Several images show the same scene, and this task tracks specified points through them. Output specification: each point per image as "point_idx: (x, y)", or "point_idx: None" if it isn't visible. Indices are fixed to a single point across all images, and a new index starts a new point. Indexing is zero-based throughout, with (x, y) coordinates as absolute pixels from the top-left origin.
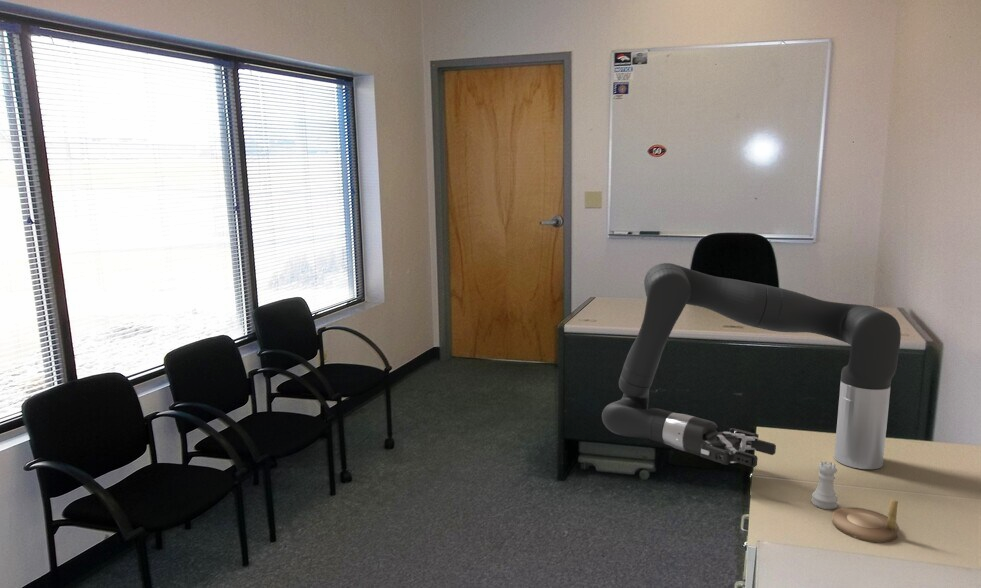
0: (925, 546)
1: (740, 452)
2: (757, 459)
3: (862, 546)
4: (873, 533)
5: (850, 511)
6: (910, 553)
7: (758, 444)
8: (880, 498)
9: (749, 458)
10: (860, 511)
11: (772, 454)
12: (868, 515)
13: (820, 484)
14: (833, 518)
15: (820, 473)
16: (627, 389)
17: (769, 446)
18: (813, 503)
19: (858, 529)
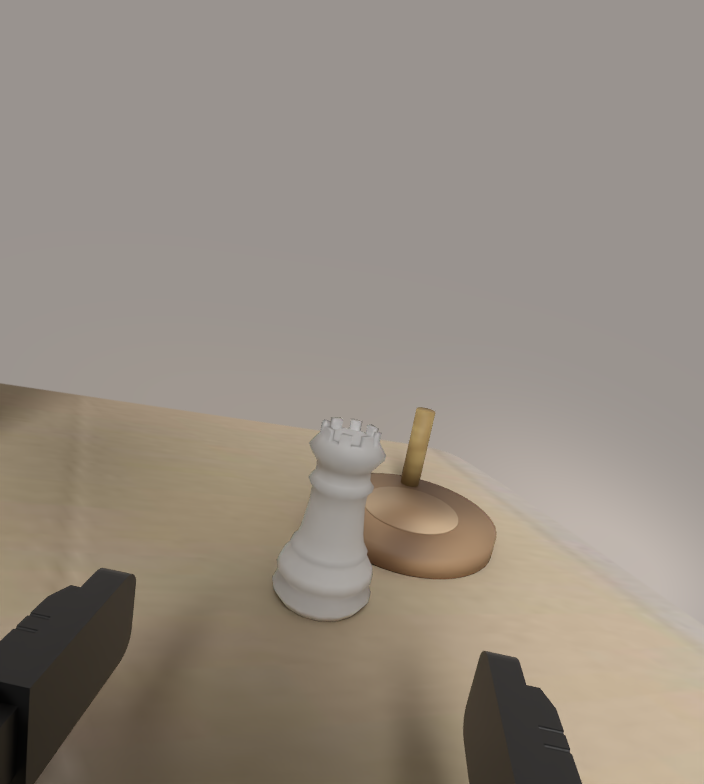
0: (402, 470)
1: (550, 777)
2: (477, 667)
3: (518, 539)
4: (469, 505)
5: (375, 526)
6: (459, 488)
7: (44, 706)
8: (163, 488)
9: (552, 704)
10: None
11: (122, 651)
12: (371, 500)
13: (359, 522)
14: (460, 560)
15: (359, 480)
16: None
17: (113, 614)
18: (355, 612)
19: (479, 522)
